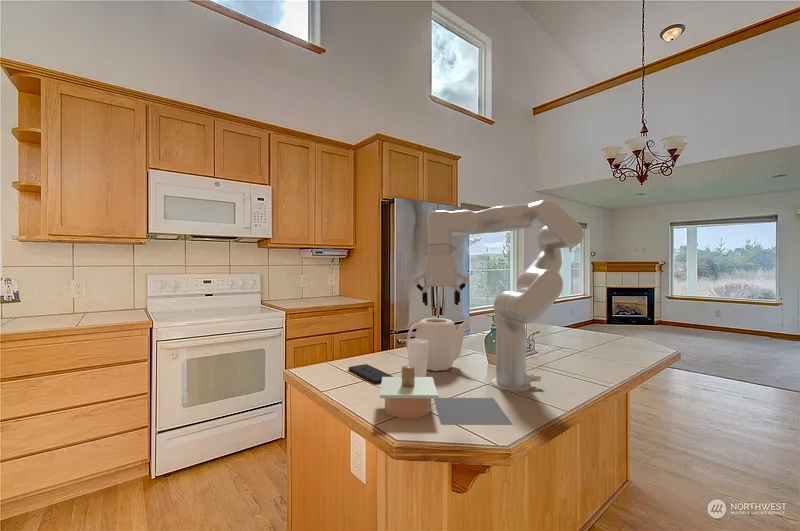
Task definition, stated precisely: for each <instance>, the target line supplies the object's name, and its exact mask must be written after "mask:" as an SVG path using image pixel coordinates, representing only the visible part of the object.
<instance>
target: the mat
mask: <svg viewBox="0 0 800 531" xmlns="http://www.w3.org/2000/svg"><path fill="white" fill-rule="evenodd" d="M433 401H434V405H435V409H436V411H437V416H438V420H439V422H440V425H441V426H442V425H443V426H444V425H446V426H447V425H449V426H450V425H455V426H459V425H460V426H462V425H463V426H465V425H466V426H469V425H470V426H474V425H475V426H485V425H486V426H488V425H492V426H494V425H495V426H497V425H498V426H503V425H504V426H513V423H512V421H511V420H510V419H509V417H508V416H507V415H506V413H505V412H504V410H503V409H502V408H501V406H500V405H499V403H497V401H496V400H495V398H494V397H438V398H433Z"/></svg>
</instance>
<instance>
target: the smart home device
mask: <svg viewBox="0 0 800 531" xmlns="http://www.w3.org/2000/svg"><path fill="white" fill-rule="evenodd" d="M348 371H349V372H351V373H353V374H355V375H356V376H359V377H360V378H363V379H364V380H365V381H367V382H370V383H372V384H374V385H379V384H381V383H382V377H395V376H393V375H391V374H389V373H387V372H385V371H383V370H380V369H378V368H377V367H374V366H373V365H369V364H367V363H364V364H358V365H354V366H349V367H348Z"/></svg>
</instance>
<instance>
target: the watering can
mask: <svg viewBox="0 0 800 531" xmlns="http://www.w3.org/2000/svg"><path fill="white" fill-rule="evenodd" d="M470 321H471V319H470V318H466V319H465V320H464V321H463V322H462V323H461V324H460V325H459V327H458V328H457V327H456V325H455V322H454V321H453V320H451V319H450V318H449V319H447V318H443V317H429V318H428V317H426V318H423V319H421V320H420V321H418V322H415V323H414V324H412V325H411V327H410V328H409V330H408V332H407V335H406V340H405V342H406V343H405V344H406V350H407V351H408V341H409V340H411V334H412V332H413V330H414V329H416V332H415V338H414V339H425V340H428V363H427V370H428V371H433V372H439V371H447V370H449V369H451V368H452V366H453V363H454V361H456V360H457V359H458V358H459V357H460V356H461V353H462V352H461V351H462V347H463V342H464V338H465V337H464V336H465V332H466V330H467V326H468V324H469V323H470Z"/></svg>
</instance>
